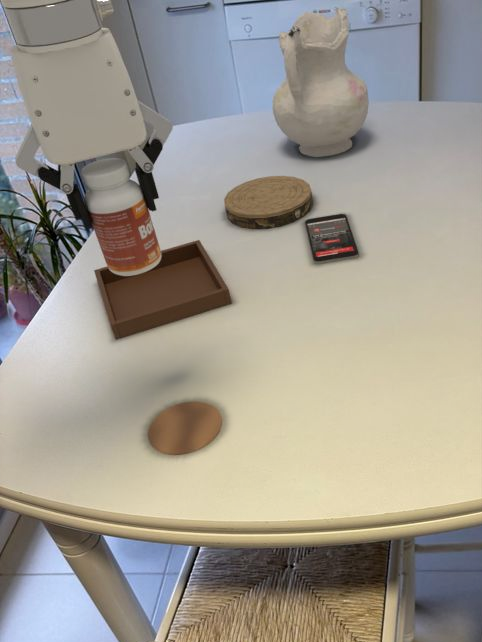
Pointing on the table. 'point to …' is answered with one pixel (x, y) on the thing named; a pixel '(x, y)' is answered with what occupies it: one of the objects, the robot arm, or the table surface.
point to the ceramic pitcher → (319, 86)
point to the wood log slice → (268, 202)
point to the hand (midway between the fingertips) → (119, 213)
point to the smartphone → (331, 239)
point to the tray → (163, 291)
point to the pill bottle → (120, 217)
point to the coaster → (185, 428)
